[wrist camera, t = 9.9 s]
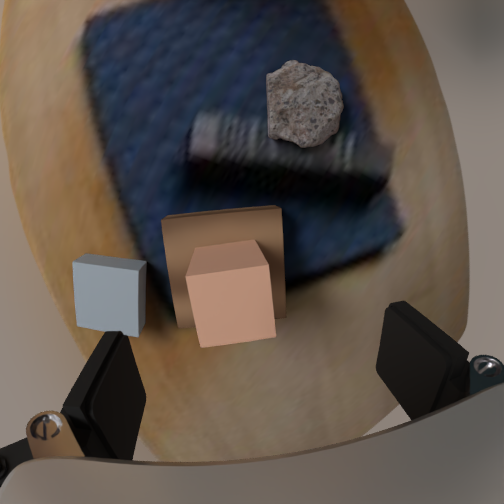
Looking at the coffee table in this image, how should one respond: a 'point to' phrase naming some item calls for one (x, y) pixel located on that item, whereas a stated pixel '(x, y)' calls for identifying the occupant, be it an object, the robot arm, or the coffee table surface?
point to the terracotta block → (230, 294)
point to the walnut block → (221, 232)
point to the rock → (303, 104)
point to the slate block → (110, 293)
